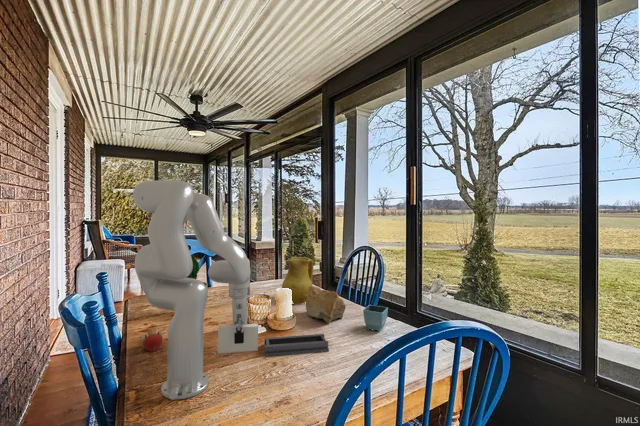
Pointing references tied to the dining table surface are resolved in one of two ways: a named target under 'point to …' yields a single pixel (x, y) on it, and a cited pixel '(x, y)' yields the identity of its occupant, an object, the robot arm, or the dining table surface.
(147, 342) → the kendama
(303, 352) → the floor track
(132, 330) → the dining table surface
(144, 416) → the dining table surface
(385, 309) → the flower pot
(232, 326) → the door panel
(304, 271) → the pitcher
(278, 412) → the dining table surface
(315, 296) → the rough brown rock
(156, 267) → the robot arm
